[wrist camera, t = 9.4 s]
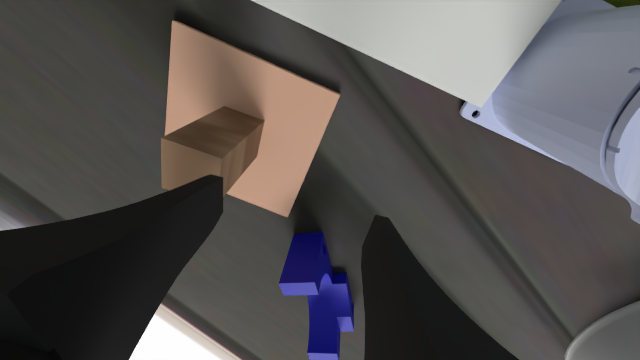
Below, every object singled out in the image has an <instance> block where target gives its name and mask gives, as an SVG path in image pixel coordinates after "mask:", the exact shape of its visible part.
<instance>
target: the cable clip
mask: <svg viewBox="0 0 640 360" xmlns="http://www.w3.org/2000/svg"><path fill="white" fill-rule="evenodd" d="M279 285H280V288H281V290H282V292H283V295H307V296H308V303H309V343H308V351H307V353H308V356H309V358H310V360H339V352H340V331H354V306H353V301H352V297H351V292H350V287H349V282H348V278H347V273H336V274H333V271H332V267H331V263H330V259H329V255H328V251H327V247H326V243H325V239H324V235H323V232H318V233H304V234H294V236H293V239H292V242H291V245H290V249H289V252H288V255H287V259H286V262H285V265H284V268H283V272H282V275H281V278H280V281H279Z"/></svg>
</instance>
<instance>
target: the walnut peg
mask: <svg viewBox="0 0 640 360" xmlns="http://www.w3.org/2000/svg"><path fill="white" fill-rule="evenodd" d="M264 122H265V121H264V120H262V119H259V118H256V117H253V116H250V115H248V114H245V113H242V112H239V111H236V110H234V109H231V108H228V107H225V106H223V107H221V108H219V109H217V110H215V111H213V112H211V113H209V114H207V115H205V116H203V117H201V118H199V119H197V120H195V121H193V122H191V123H189V124H187V125H185V126H183V127H181V128H179V129H177V130H175V131H174V132H172V133H170V134H168V135H166V136H164V137H162V138H161V166H162V188H164V189H167V190H172V189H175V188H177V187H180V186H182V185H184V184H187V183H189V182H192V181H194V180H196V179H199V178H201V177H204V176H207V175H210V174H212V175H216V176H220V177H223V197H224V196H225V194H226V193H227V192H228V191H229V190H230V188H231V187H232V186H233V185H234V184H235V182H236V181H237V180H238V179H239V178H240V176H241V175H242V174H243V173H244V172H245V170H246V169H247V168H248V167H249V166H250V164H251V163H252V162H253V161H254V160H255V158H256V157H257V155H258V150H259V145H260V140H261V136H262V131H263V126H264Z"/></svg>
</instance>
